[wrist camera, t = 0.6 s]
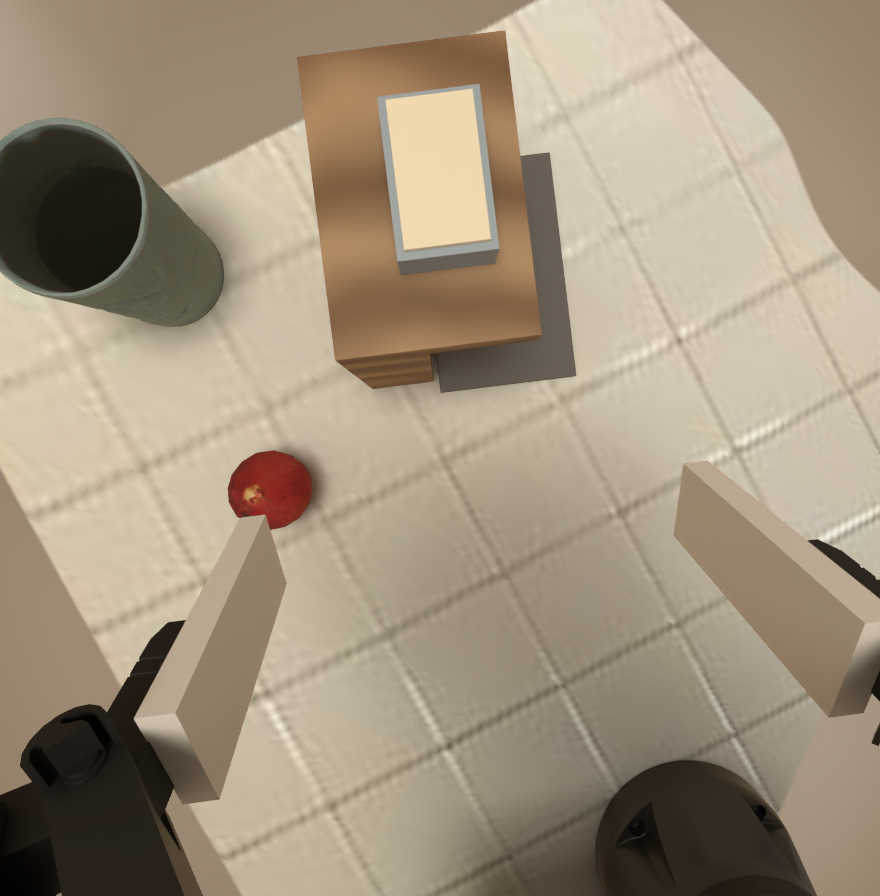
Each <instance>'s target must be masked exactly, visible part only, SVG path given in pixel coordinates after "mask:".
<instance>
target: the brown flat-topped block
mask: <svg viewBox="0 0 880 896" xmlns="http://www.w3.org/2000/svg"><path fill="white" fill-rule="evenodd" d="M297 61H298V69H299V77H300V85H301V93H302V100H303V108H304V117H305V125H306V133H307V141H308V149H309V156H310V164H311V172H312V180H313V188H314V196H315V204H316V212H317V220H318V227H319V235H320V243H321V251H322V259H323V267H324V275H325V283H326V291H327V299H328V306H329V314H330V322H331V330H332V338H333V346H334V354H335V360H336V361H337V362H338V363H339V364H341V365H342V366H343V367H345V368H346V369H347V370H349V371H350V372H351V373H353V374H354V375H355V376H357V377H358V378H359V379H361V380H362V381H363V382H364V383H366V384H367V385H368V386H370V387H371V388H372V389H376V388H384V387H392V386H400V385H408V384H416V383H424V382H432V381H433V373H432V365H431V357H430V354H432V353H440V352H448V351H456V350H464V349H472V348H480V347H488V346H496V345H504V344H512V343H520V342H528V341H536V340H537V339H538V338H539V337H540V336H541V335H542V333H541V324H540V316H539V308H538V299H537V291H536V283H535V275H534V266H533V258H532V250H531V241H530V233H529V225H528V217H527V208H526V200H525V192H524V184H523V175H522V167H521V159H520V150H519V142H518V134H517V126H516V117H515V109H514V101H513V92H512V84H511V76H510V68H509V59H508V51H507V43H506V34H505V31H497V32H489V33H481V34H474V35H466V36H458V37H450V38H443V39H435V40H427V41H420V42H412V43H404V44H396V45H388V46H380V47H372V48H365V49H357V50H349V51H341V52H334V53H326V54H319V55H310V56H302V57H297ZM474 84H479V85H480V93H481V101H482V109H483V118H484V126H485V134H486V142H487V150H488V159H489V167H490V175H491V183H492V192H493V200H494V208H495V216H496V224H497V233H498V241H499V252H498V255H497V259H496V262H495V264H489V265H481V266H473V267H465V268H457V269H449V270H441V271H433V272H426V273H418V274H410V275H402V276H401V274H400V270H399V266H398V262H397V254H396V246H395V238H394V230H393V222H392V214H391V206H390V198H389V190H388V182H387V174H386V166H385V158H384V150H383V142H382V134H381V126H380V118H379V109H378V101H377V97H380V96H388V95H396V94H403V93H411V92H419V91H427V90H435V89H443V88H450V87H458V86H466V85H474Z"/></svg>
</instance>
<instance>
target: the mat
mask: <svg viewBox="0 0 880 896" xmlns="http://www.w3.org/2000/svg"><path fill="white" fill-rule="evenodd" d="M520 159H521V167H522V175H523V184H524V192H525V200H526V208H527V217H528V225H529V233H530V241H531V250H532V258H533V266H534V275H535V283H536V291H537V299H538V308H539V316H540V324H541V333H542V335H541V336H540V337H539V338H538V339H537V340H536V341H528V342H520V343H512V344H504V345H496V346H488V347H480V348H472V349H464V350H456V351H448V352H440V353H436V356H437V364H438V372H439V380H440V388H441V393H443V392H451V391H459V390H467V389H475V388H483V387H491V386H499V385H507V384H515V383H523V382H531V381H539V380H547V379H555V378H563V377H571V376H576V370H575V361H574V353H573V345H572V336H571V328H570V320H569V311H568V303H567V295H566V286H565V278H564V269H563V261H562V253H561V244H560V236H559V228H558V219H557V211H556V203H555V194H554V186H553V178H552V169H551V161H550V153H541V154H533V155H525V156H520Z"/></svg>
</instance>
